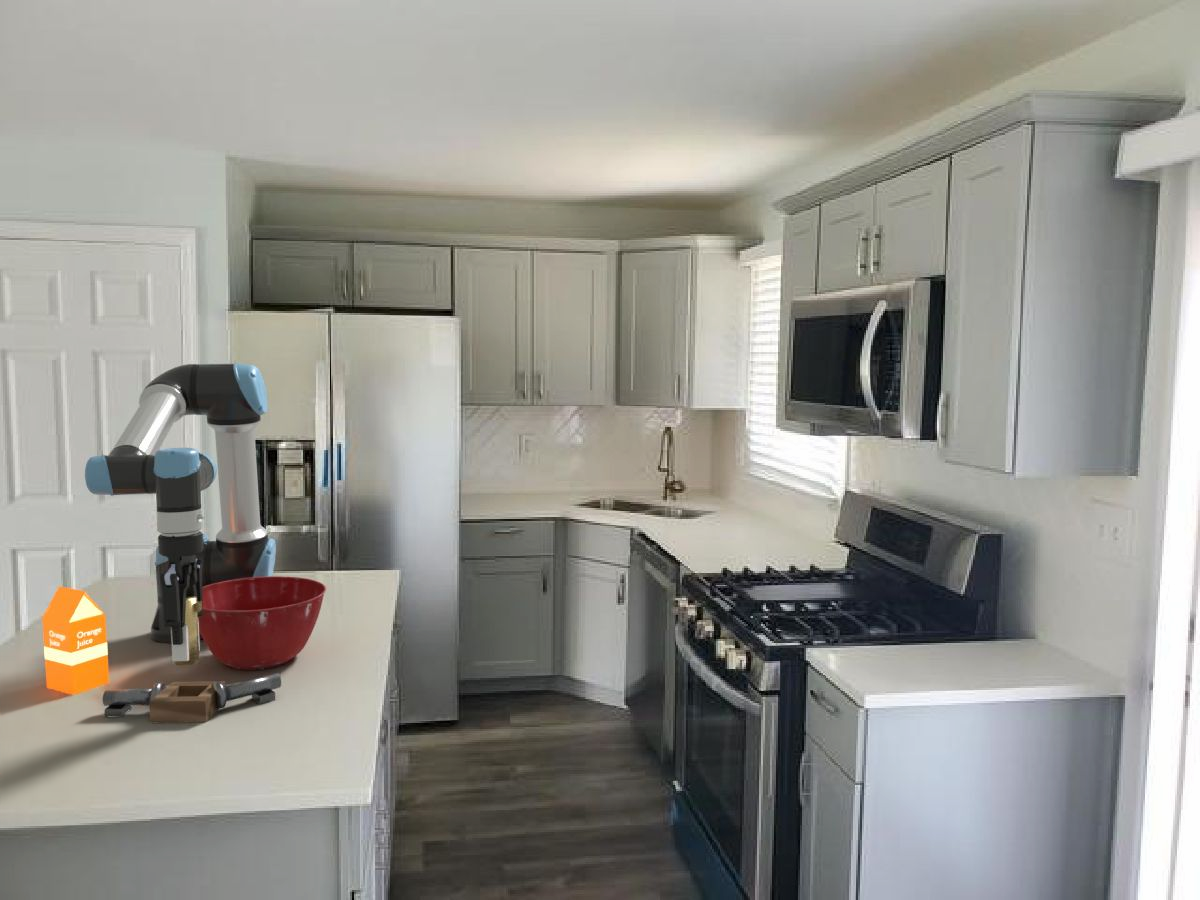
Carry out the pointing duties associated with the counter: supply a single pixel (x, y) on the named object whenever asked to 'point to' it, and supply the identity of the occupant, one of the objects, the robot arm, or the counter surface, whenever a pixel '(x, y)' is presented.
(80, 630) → the orange juice
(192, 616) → the joint pin
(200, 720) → the coupling block
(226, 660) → the mixing bowl
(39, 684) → the counter surface
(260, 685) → the shaft
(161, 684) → the shaft
